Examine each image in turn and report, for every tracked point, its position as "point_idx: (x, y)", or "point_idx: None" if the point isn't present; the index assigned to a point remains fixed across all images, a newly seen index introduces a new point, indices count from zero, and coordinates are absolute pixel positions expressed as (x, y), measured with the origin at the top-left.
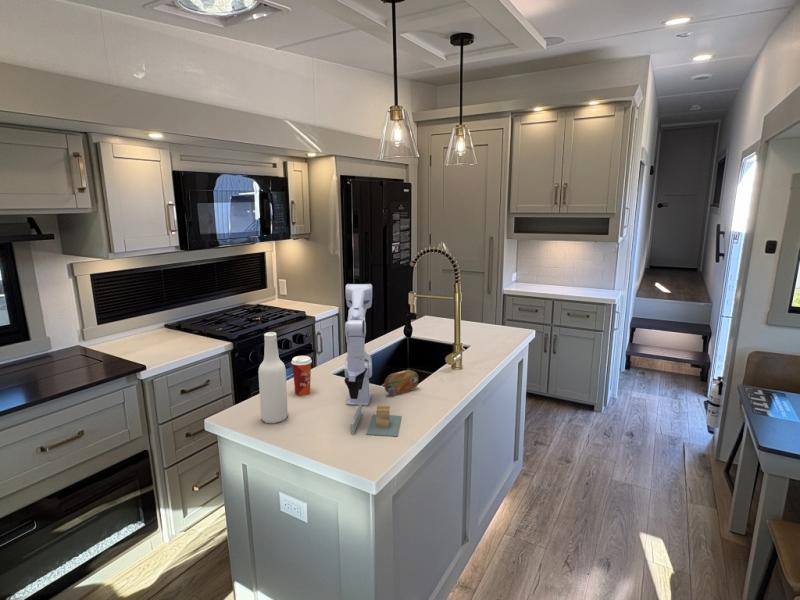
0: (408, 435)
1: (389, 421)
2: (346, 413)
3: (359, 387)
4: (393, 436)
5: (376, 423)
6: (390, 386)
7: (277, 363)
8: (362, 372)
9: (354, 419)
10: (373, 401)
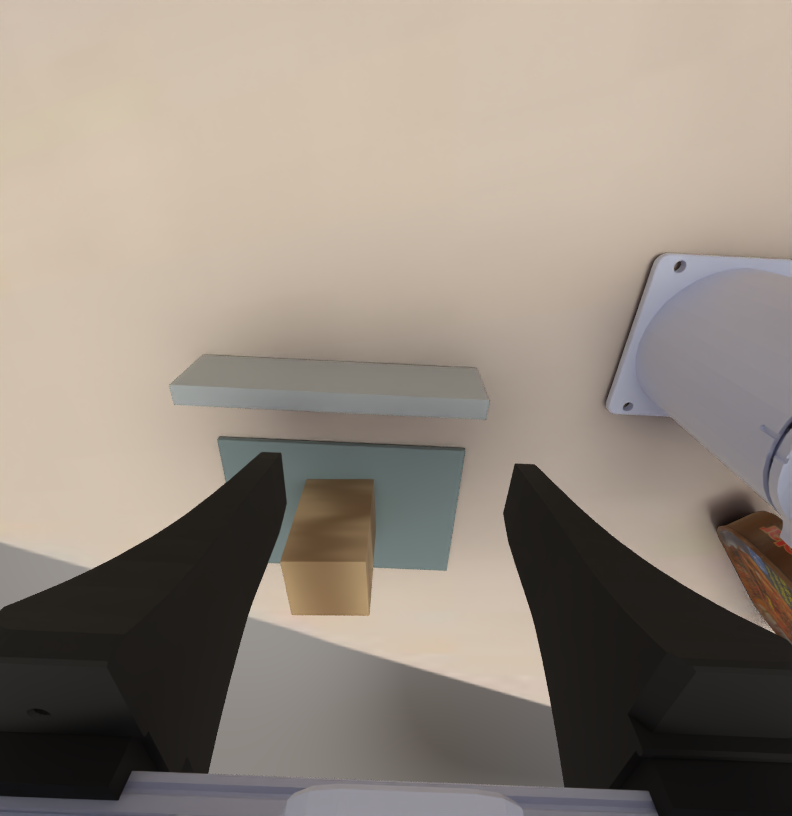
0: (267, 590)
1: (380, 528)
2: (497, 279)
3: (512, 518)
4: None
5: (302, 494)
6: (769, 567)
7: None
8: (576, 756)
9: (244, 401)
10: (668, 434)
